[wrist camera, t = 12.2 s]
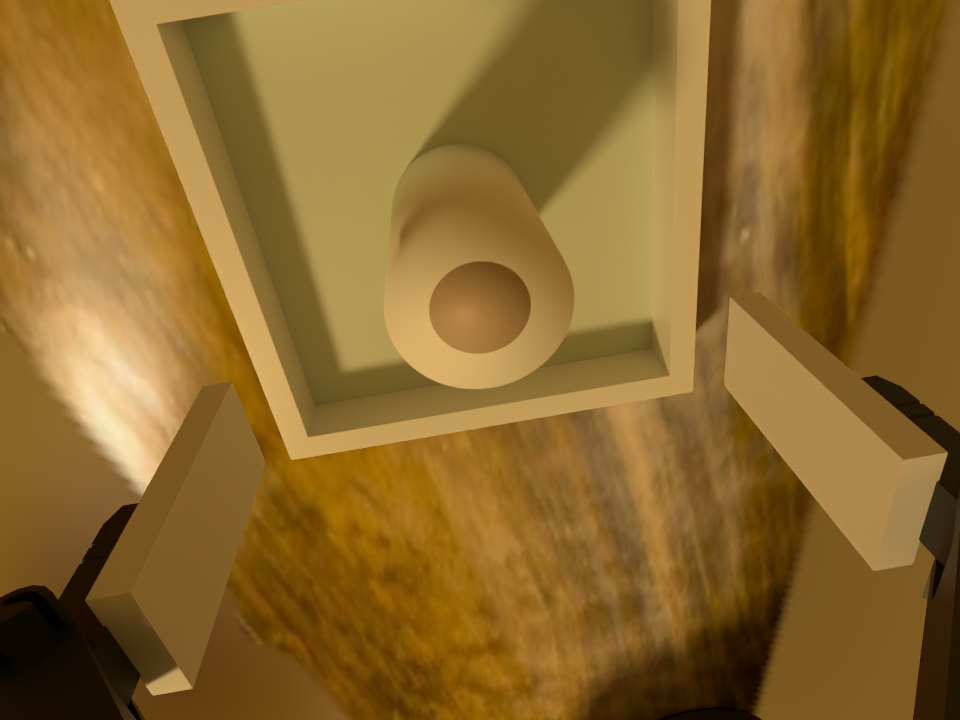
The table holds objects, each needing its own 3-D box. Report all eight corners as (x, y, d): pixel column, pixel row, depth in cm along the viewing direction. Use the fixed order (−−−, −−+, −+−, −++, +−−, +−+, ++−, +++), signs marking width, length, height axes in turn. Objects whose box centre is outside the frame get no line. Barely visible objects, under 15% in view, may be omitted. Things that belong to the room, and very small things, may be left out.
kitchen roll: (531, 261, 30) (580, 372, 21) (407, 283, 30) (406, 403, 21) (516, 131, 26) (566, 199, 18) (378, 156, 26) (362, 236, 18)
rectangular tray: (668, 356, 34) (692, 391, 31) (301, 418, 34) (291, 460, 31) (677, -100, 23) (716, -113, 20) (144, -11, 23) (105, -11, 20)
